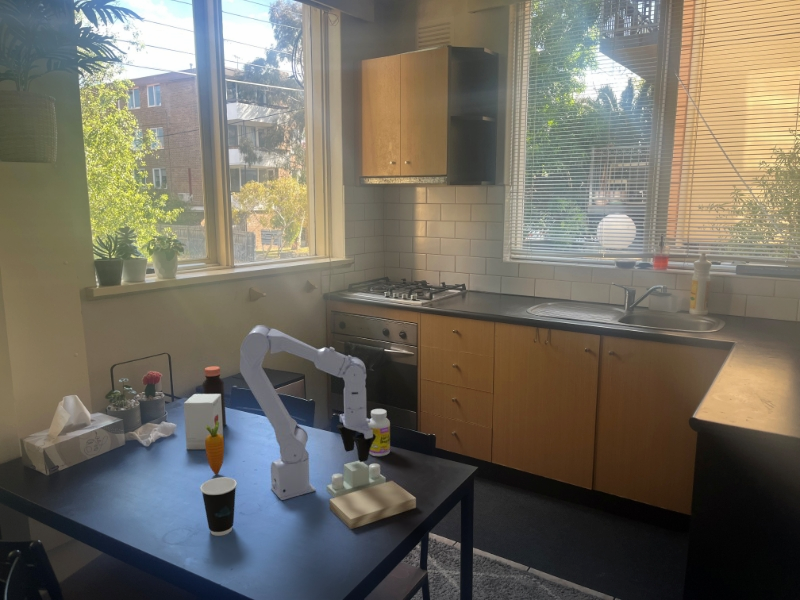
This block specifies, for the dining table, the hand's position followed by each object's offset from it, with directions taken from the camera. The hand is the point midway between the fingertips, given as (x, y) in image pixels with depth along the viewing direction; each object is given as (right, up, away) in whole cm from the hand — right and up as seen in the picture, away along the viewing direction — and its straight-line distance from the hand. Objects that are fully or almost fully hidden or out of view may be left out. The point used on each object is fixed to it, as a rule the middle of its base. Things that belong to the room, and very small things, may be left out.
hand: (356, 455), depth 155 cm
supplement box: (-49, -4, +30) cm, 58 cm away
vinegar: (-51, -2, +45) cm, 68 cm away
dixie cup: (-30, -12, -19) cm, 37 cm away
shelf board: (+5, -10, -10) cm, 15 cm away
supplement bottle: (+5, -5, +23) cm, 24 cm away
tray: (0, -9, +1) cm, 9 cm away
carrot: (-39, -8, +9) cm, 41 cm away
